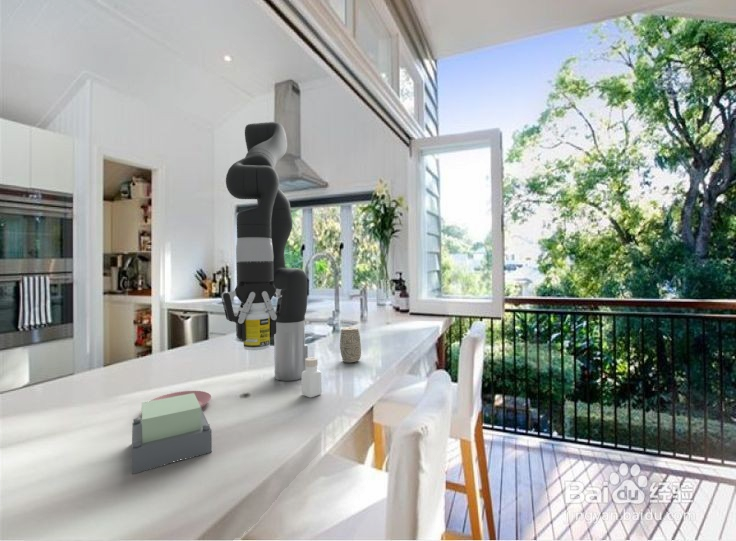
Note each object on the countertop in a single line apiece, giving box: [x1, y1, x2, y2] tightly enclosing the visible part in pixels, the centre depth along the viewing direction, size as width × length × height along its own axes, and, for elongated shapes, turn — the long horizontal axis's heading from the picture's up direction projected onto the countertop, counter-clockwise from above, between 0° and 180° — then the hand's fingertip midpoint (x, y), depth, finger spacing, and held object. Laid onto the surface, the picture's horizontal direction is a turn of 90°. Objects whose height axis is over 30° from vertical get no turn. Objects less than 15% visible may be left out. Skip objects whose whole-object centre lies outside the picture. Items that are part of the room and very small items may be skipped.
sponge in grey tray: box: [131, 393, 213, 475], centre depth 65 cm, size 12×12×8 cm
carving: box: [339, 326, 362, 364], centre depth 124 cm, size 6×8×12 cm
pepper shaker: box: [301, 356, 323, 399], centre depth 92 cm, size 4×4×10 cm
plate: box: [150, 390, 212, 410], centre depth 83 cm, size 14×14×2 cm
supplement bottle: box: [243, 303, 271, 351], centre depth 75 cm, size 5×5×10 cm
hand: (256, 338), depth 75 cm, fingers closed on supplement bottle, 5 cm apart
